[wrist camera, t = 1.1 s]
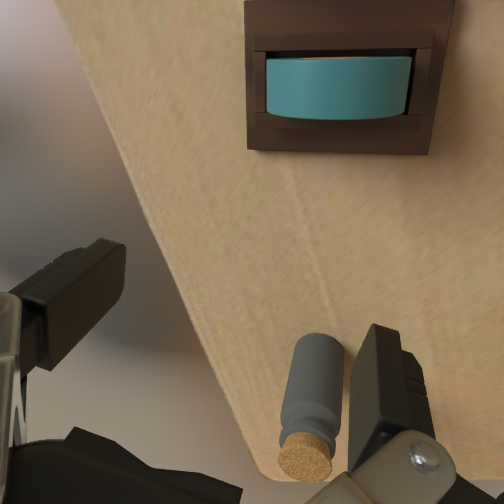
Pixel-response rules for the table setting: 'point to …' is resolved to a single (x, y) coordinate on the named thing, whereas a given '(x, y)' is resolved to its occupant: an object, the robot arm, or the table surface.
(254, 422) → the table surface
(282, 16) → the holder
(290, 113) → the tape roll
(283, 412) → the bottle
